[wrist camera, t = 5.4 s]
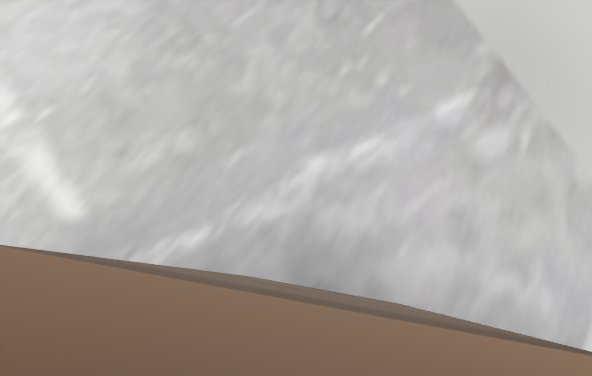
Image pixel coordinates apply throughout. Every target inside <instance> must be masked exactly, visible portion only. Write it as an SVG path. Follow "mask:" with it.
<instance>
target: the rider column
mask: <svg viewBox="0 0 592 376" xmlns="http://www.w3.org/2000/svg"><path fill="white" fill-rule="evenodd" d="M0 376H592V352H590V351H586V350H582V349H578V348H574V347H570V346H566V345H562V344H558V343H554V342H550V341H546V340H542V339H538V338H534V337H530V336H526V335H522V334H518V333H514V332H510V331H506V330H502V329H497V328H493V327H489V326H485V325H481V324H477V323H473V322H469V321H465V320H461V319H457V318H453V317H449V316H445V315H441V314H437V313H433V312H429V311H425V310H421V309H417V308H413V307H409V306H405V305H401V304H396V303H391V302H386V301H380V300H375V299H369V298H364V297H358V296H353V295H347V294H342V293H336V292H331V291H325V290H320V289H314V288H309V287H303V286H298V285H292V284H287V283H281V282H276V281H270V280H265V279H259V278H254V277H248V276H241V275H233V274H225V273H217V272H209V271H201V270H193V269H185V268H178V267H170V266H162V265H154V264H146V263H138V262H130V261H122V260H114V259H107V258H99V257H91V256H83V255H75V254H67V253H59V252H51V251H44V250H36V249H28V248H20V247H12V246H4V245H0Z"/></svg>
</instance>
